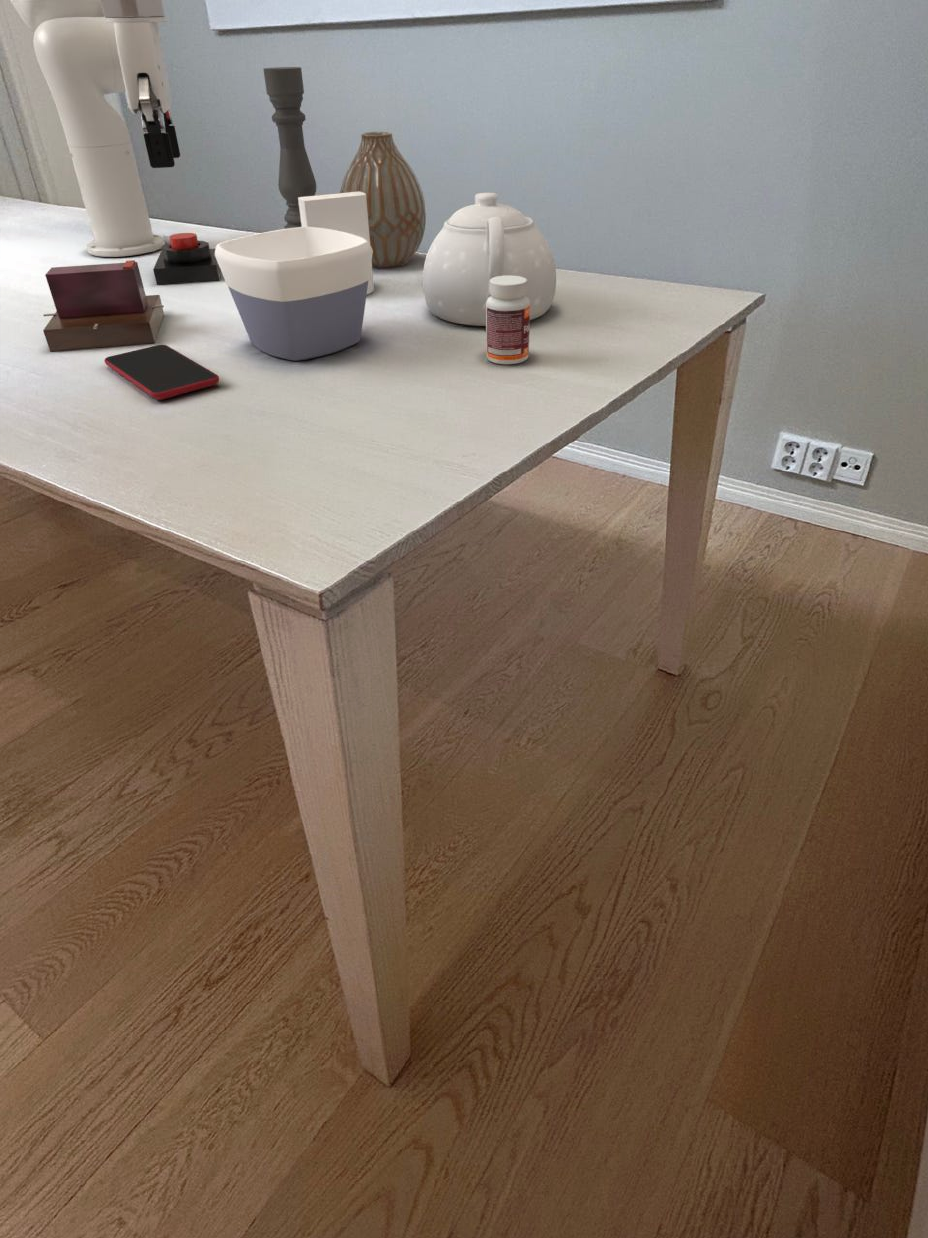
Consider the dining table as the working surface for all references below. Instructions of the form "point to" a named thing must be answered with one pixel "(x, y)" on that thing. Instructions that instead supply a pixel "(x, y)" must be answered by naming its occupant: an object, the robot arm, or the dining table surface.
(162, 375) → the smartphone
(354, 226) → the base with upright slab
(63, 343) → the panel
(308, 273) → the bowl
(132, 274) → the bar
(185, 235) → the button
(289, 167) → the candle holder
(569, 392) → the dining table surface
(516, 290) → the pill bottle
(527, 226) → the teapot
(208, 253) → the button block
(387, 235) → the vase
